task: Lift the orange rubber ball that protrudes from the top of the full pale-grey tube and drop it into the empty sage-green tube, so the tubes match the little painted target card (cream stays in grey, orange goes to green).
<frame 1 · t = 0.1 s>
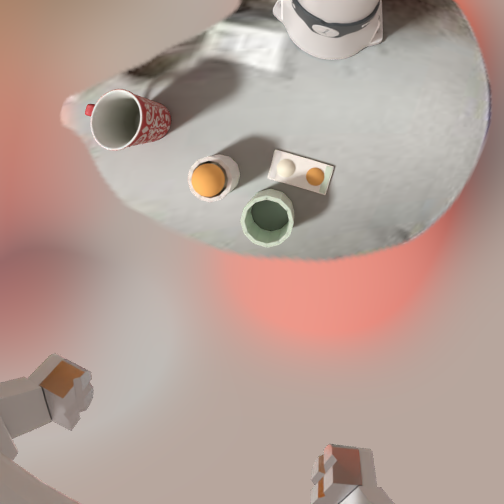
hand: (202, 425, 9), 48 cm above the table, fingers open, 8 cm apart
tube green: (270, 212, 55), on the table
mug: (145, 118, 53), on the table
ball orange: (212, 178, 50), point 5 cm above the table, touching tube grey
target card: (300, 172, 52), on the table
tube grey: (219, 174, 54), on the table
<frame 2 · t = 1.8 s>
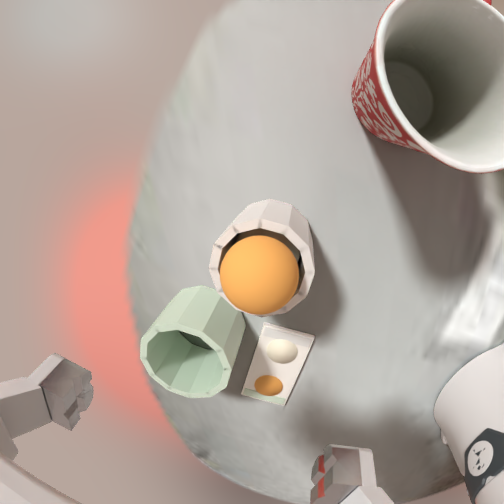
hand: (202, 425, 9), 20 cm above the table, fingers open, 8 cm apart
tube green: (205, 322, 32), on the table
mug: (401, 83, 22), on the table
ball orange: (264, 260, 23), point 5 cm above the table, touching tube grey
target card: (275, 366, 32), on the table
tube grey: (271, 239, 28), on the table
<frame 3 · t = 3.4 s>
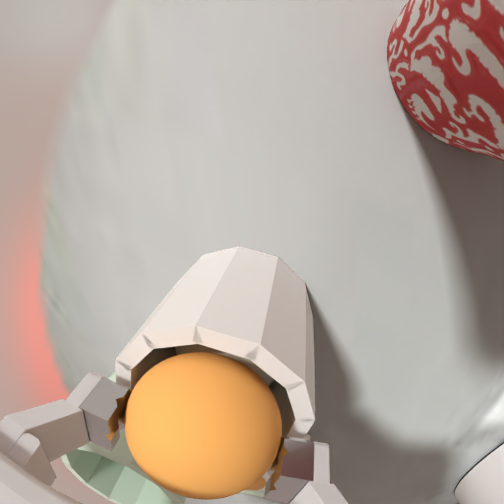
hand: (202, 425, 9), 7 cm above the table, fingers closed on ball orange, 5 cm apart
tube green: (155, 410, 20), on the table
mug: (465, 48, 10), on the table
ball orange: (219, 378, 12), point 5 cm above the table, touching gripper, tube grey
target card: (255, 463, 21), on the table
tube grey: (242, 313, 16), on the table
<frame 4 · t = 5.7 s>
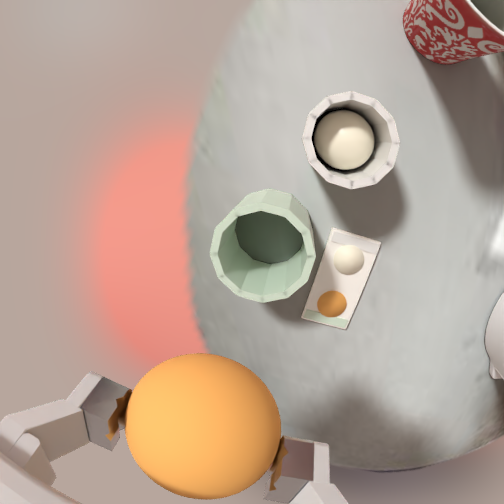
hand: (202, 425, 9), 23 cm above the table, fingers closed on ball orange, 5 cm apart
tube green: (270, 230, 31), on the table
mug: (440, 20, 21), on the table
ball orange: (219, 379, 12), point 21 cm above the table, touching gripper
target card: (339, 280, 32), on the table
tube grey: (340, 139, 27), on the table
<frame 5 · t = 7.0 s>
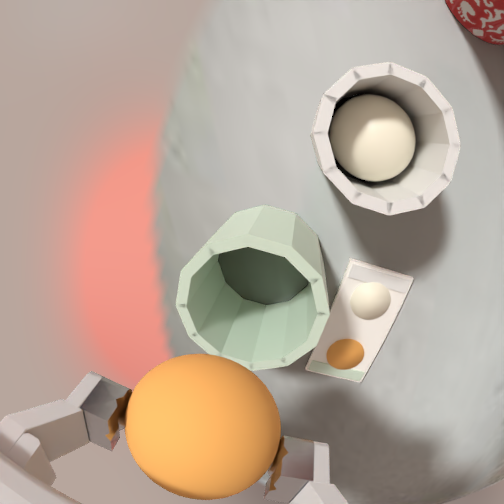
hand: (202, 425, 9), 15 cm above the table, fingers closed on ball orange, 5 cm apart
tube green: (265, 261, 23), on the table
ball orange: (219, 379, 12), point 12 cm above the table, touching gripper
target card: (357, 326, 23), on the table
tube grey: (364, 137, 19), on the table
when the fingers open (10 cm above the table, at t = 8.1 s): ball orange drops 8 cm, resting in tube green.
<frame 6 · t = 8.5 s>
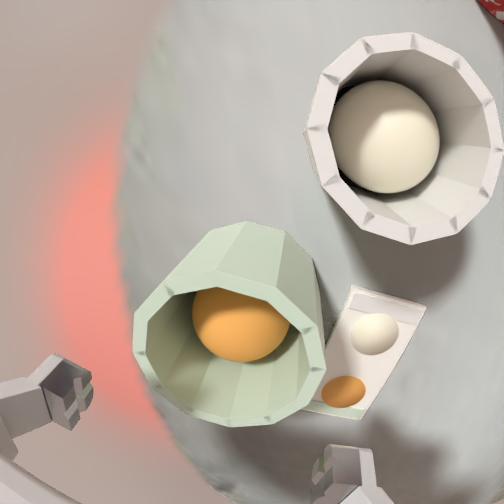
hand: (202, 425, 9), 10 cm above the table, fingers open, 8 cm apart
tube green: (248, 289, 19), on the table
ball orange: (249, 291, 19), resting in tube green
target card: (357, 361, 19), on the table
tube grey: (372, 136, 15), on the table
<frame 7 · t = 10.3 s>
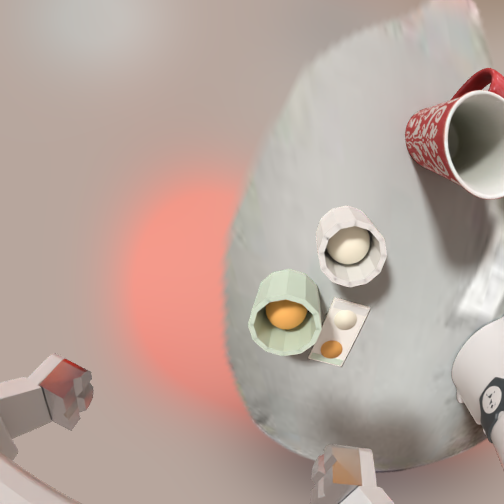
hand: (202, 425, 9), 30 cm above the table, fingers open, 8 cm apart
tube green: (288, 298, 41), on the table
mug: (437, 127, 31), on the table
ball orange: (288, 299, 41), resting in tube green
target card: (338, 333, 42), on the table
tube grey: (345, 234, 37), on the table
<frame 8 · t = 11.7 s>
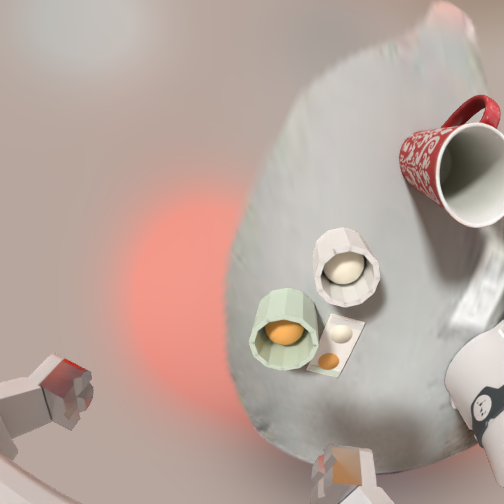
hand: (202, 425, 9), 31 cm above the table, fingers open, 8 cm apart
tube green: (286, 314, 43), on the table
mug: (431, 149, 33), on the table
ball orange: (286, 315, 43), resting in tube green
target card: (334, 346, 43), on the table
tube grey: (340, 255, 39), on the table
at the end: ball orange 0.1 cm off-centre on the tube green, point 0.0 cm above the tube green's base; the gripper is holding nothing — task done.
